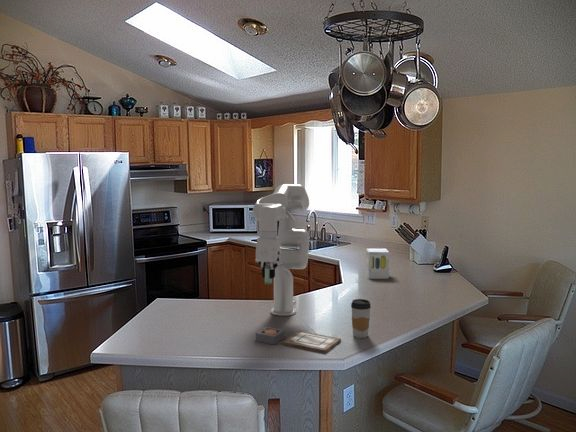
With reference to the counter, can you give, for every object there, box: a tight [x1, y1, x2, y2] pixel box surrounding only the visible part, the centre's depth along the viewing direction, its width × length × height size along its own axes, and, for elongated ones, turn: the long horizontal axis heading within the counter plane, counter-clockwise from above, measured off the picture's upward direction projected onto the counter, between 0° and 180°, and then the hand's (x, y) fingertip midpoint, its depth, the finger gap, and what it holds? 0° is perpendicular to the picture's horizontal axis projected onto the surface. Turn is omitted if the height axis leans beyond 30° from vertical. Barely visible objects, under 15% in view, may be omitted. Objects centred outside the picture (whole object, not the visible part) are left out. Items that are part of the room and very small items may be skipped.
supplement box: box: [365, 247, 390, 280], centre depth 320 cm, size 13×13×18 cm
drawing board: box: [282, 330, 342, 354], centre depth 203 cm, size 15×19×1 cm
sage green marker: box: [264, 263, 273, 285], centre depth 210 cm, size 3×3×8 cm
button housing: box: [255, 326, 286, 345], centre depth 206 cm, size 9×9×3 cm
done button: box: [264, 329, 276, 335], centre depth 206 cm, size 5×5×2 cm
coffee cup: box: [350, 298, 371, 339], centre depth 210 cm, size 8×8×15 cm
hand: (268, 277), depth 210 cm, fingers closed on sage green marker, 2 cm apart
